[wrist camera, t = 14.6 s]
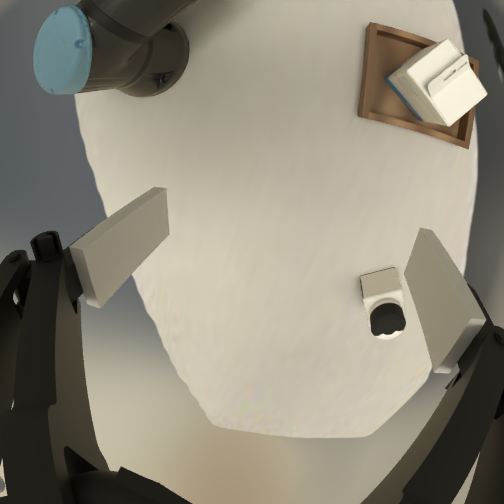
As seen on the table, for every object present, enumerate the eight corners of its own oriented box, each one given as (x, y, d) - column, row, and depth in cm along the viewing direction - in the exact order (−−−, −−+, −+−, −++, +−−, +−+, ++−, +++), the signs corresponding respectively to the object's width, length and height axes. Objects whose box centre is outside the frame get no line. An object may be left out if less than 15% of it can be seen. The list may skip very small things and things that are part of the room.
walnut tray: (357, 116, 38) (361, 117, 34) (366, 28, 30) (370, 22, 26) (457, 144, 35) (468, 149, 31) (467, 63, 27) (478, 61, 24)
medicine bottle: (359, 275, 51) (365, 318, 41) (394, 266, 48) (408, 308, 38) (365, 303, 54) (371, 348, 44) (399, 295, 51) (410, 338, 41)
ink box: (418, 121, 34) (454, 132, 23) (382, 78, 33) (408, 70, 21) (452, 92, 30) (496, 94, 19) (418, 49, 28) (454, 34, 17)
